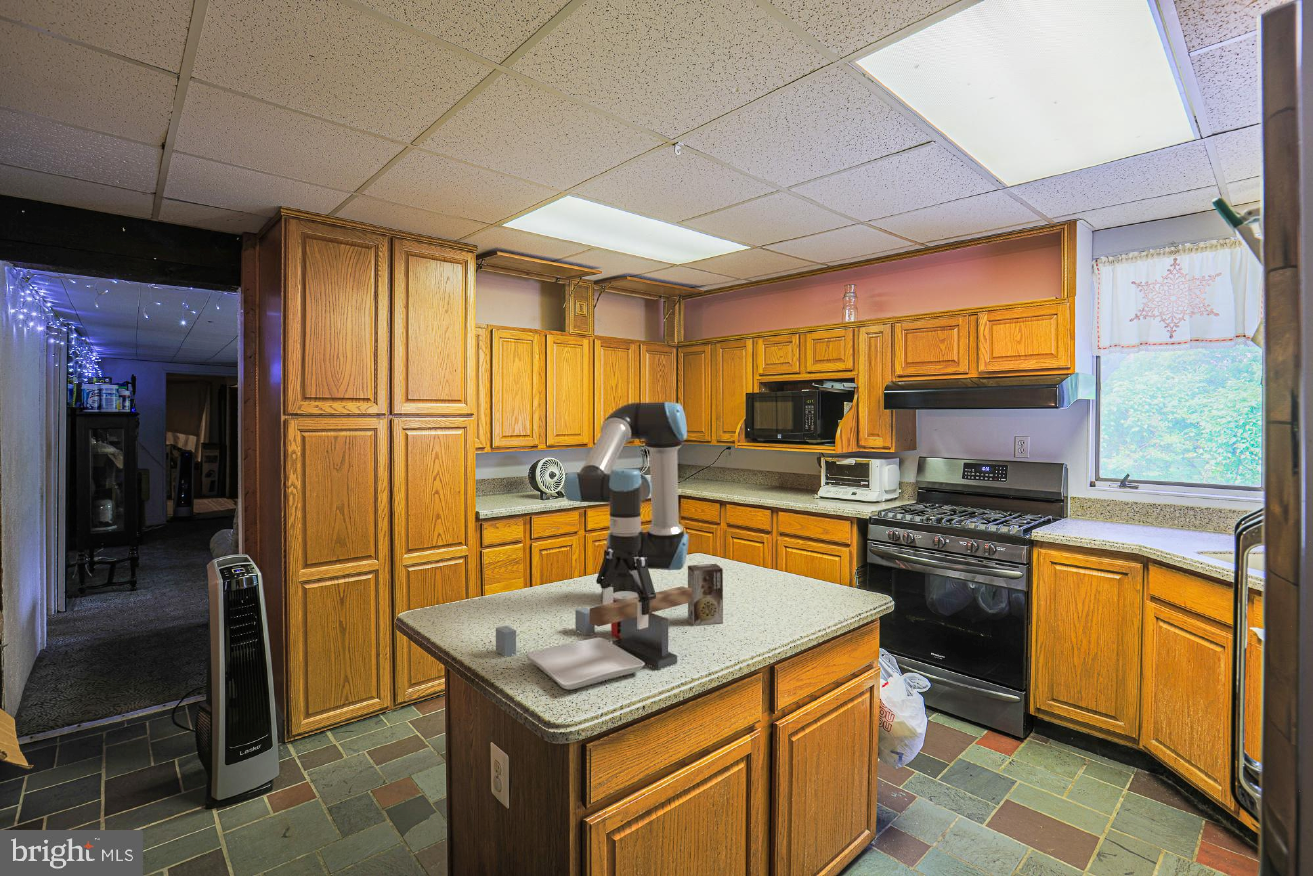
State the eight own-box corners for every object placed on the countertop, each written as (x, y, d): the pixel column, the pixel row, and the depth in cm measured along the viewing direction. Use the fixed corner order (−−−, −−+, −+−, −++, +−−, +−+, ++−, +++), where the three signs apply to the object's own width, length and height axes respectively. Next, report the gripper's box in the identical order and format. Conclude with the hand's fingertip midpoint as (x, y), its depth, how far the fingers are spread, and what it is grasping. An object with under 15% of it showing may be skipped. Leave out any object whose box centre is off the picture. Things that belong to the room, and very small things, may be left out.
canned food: (618, 641, 164) (618, 600, 164) (606, 632, 171) (606, 593, 171) (644, 637, 168) (644, 596, 167) (631, 628, 175) (631, 589, 174)
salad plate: (647, 676, 143) (647, 661, 143) (564, 700, 130) (564, 683, 130) (600, 648, 160) (600, 635, 160) (523, 667, 148) (523, 652, 148)
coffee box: (716, 616, 186) (716, 563, 185) (723, 623, 179) (723, 568, 179) (686, 619, 183) (687, 564, 183) (693, 626, 177) (693, 569, 177)
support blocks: (584, 628, 174) (584, 607, 174) (594, 633, 171) (594, 611, 171) (495, 651, 157) (495, 627, 157) (505, 657, 153) (505, 633, 153)
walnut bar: (682, 599, 165) (682, 586, 165) (691, 602, 162) (691, 588, 162) (589, 623, 145) (589, 608, 145) (598, 626, 143) (598, 611, 143)
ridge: (630, 643, 163) (630, 601, 163) (677, 663, 149) (677, 618, 149) (612, 648, 159) (612, 606, 159) (658, 670, 145) (658, 623, 145)
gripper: (582, 528, 156) (582, 611, 157) (646, 543, 138) (646, 637, 138) (606, 525, 161) (606, 606, 162) (671, 538, 143) (671, 630, 143)
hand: (624, 620), depth 150 cm, fingers open, 13 cm apart
